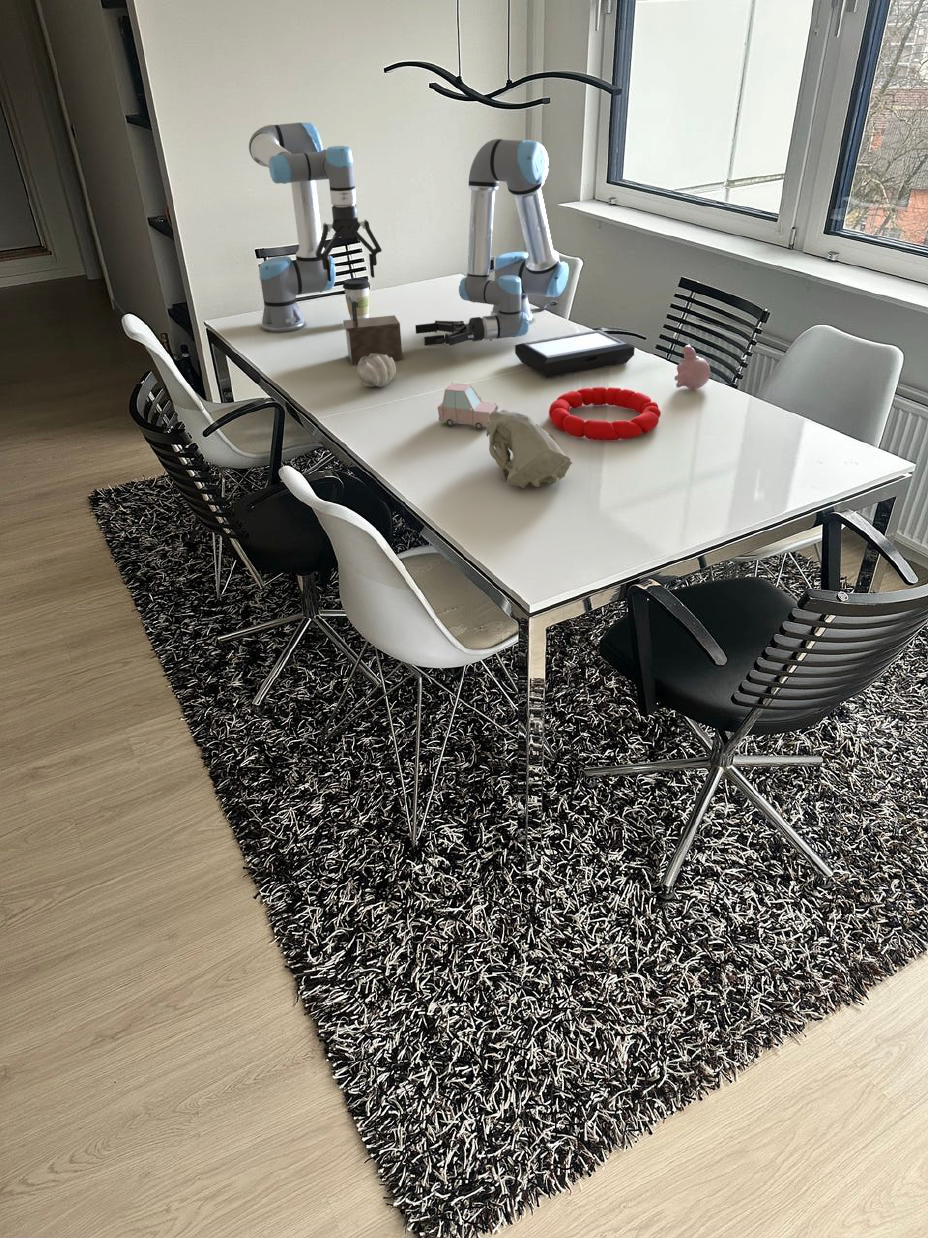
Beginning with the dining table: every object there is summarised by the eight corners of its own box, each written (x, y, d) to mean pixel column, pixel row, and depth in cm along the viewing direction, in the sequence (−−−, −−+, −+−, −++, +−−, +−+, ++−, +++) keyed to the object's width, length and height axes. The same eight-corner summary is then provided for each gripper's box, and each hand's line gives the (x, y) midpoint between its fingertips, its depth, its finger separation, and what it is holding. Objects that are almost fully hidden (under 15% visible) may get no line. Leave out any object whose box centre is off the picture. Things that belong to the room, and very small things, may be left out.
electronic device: (544, 360, 268) (515, 342, 283) (544, 380, 271) (514, 361, 286) (634, 344, 278) (601, 327, 293) (633, 363, 282) (600, 346, 297)
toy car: (488, 432, 240) (488, 396, 234) (436, 426, 244) (434, 390, 239) (499, 419, 247) (499, 384, 241) (448, 413, 252) (447, 379, 246)
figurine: (665, 387, 264) (669, 347, 257) (693, 380, 268) (698, 340, 261) (686, 396, 257) (690, 355, 250) (714, 388, 262) (720, 348, 255)
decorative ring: (589, 435, 224) (684, 402, 234) (527, 398, 247) (617, 369, 256) (589, 461, 229) (683, 427, 238) (529, 422, 251) (617, 393, 260)
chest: (352, 365, 289) (348, 331, 283) (348, 356, 297) (345, 323, 291) (402, 359, 292) (400, 326, 286) (397, 350, 300) (394, 318, 294)
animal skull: (496, 517, 219) (521, 479, 201) (463, 429, 225) (484, 384, 207) (557, 503, 225) (586, 465, 206) (523, 417, 231) (549, 373, 212)
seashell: (349, 385, 273) (346, 353, 267) (393, 376, 278) (391, 344, 273) (363, 395, 265) (359, 362, 260) (408, 385, 271) (405, 353, 265)
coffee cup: (372, 326, 323) (368, 283, 314) (345, 327, 323) (340, 284, 315) (374, 318, 331) (371, 276, 322) (348, 319, 331) (344, 277, 323)
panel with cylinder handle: (347, 331, 283) (344, 303, 278) (343, 323, 290) (340, 295, 285) (400, 326, 286) (398, 297, 281) (394, 318, 294) (392, 290, 288)
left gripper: (303, 209, 261) (312, 284, 274) (387, 203, 266) (392, 277, 278) (301, 205, 268) (310, 278, 280) (382, 199, 272) (388, 271, 284)
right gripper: (492, 350, 289) (429, 358, 285) (472, 329, 309) (413, 335, 305) (492, 327, 285) (427, 334, 281) (472, 307, 305) (411, 313, 301)
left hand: (351, 278), depth 279 cm, fingers open, 13 cm apart
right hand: (420, 335), depth 293 cm, fingers open, 13 cm apart
